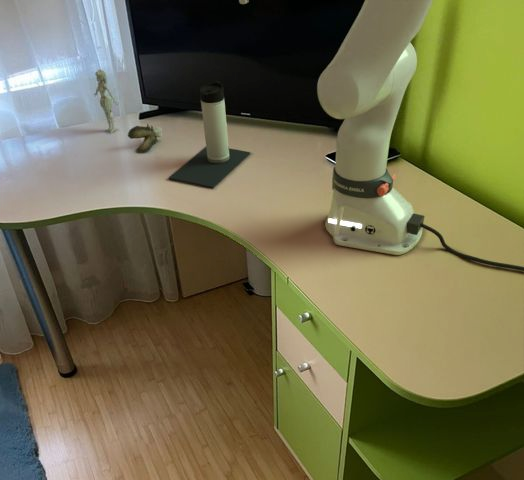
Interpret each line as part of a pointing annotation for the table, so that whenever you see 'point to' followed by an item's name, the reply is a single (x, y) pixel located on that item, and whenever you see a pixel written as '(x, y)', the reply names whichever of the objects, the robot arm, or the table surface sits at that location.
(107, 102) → the human figurine
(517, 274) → the table surface
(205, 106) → the travel mug
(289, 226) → the table surface
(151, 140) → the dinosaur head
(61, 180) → the table surface
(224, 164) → the desk pad
